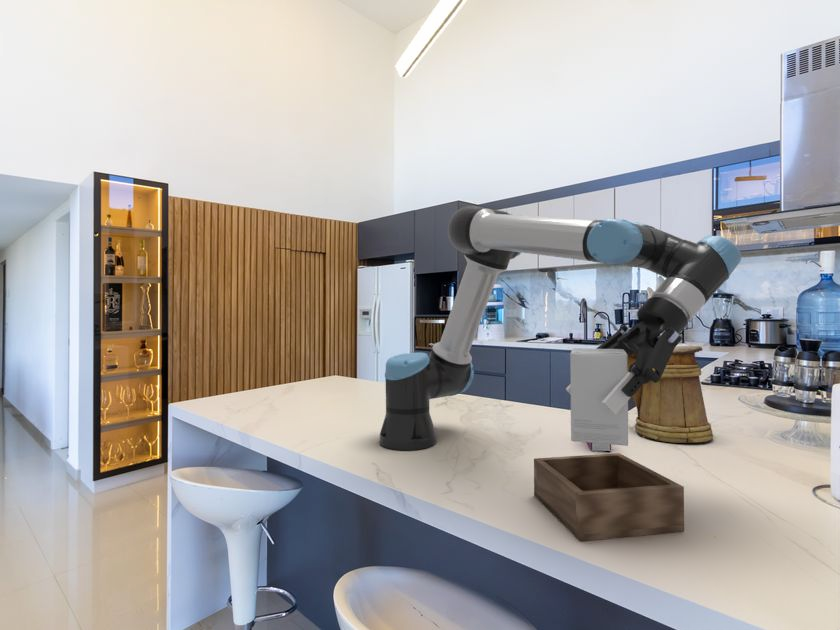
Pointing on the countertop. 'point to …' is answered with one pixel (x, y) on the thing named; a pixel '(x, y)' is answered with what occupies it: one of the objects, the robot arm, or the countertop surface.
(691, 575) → the countertop surface
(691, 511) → the countertop surface
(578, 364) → the supplement box
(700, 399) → the tankard
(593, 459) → the crate
